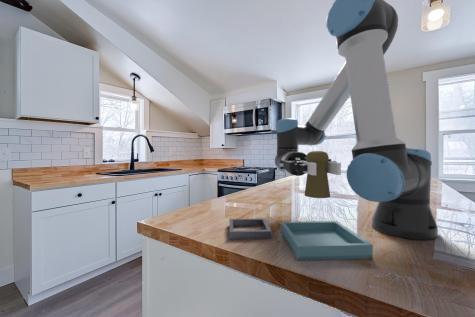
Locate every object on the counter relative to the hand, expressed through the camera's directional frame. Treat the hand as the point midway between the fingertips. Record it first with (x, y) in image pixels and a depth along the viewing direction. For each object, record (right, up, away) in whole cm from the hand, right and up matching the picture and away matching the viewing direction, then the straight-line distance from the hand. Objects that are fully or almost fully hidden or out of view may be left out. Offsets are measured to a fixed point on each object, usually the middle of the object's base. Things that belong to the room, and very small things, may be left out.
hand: (326, 169), depth 50 cm
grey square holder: (-17, -19, +14) cm, 29 cm away
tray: (+1, -19, +6) cm, 20 cm away
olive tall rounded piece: (0, -7, +6) cm, 9 cm away
